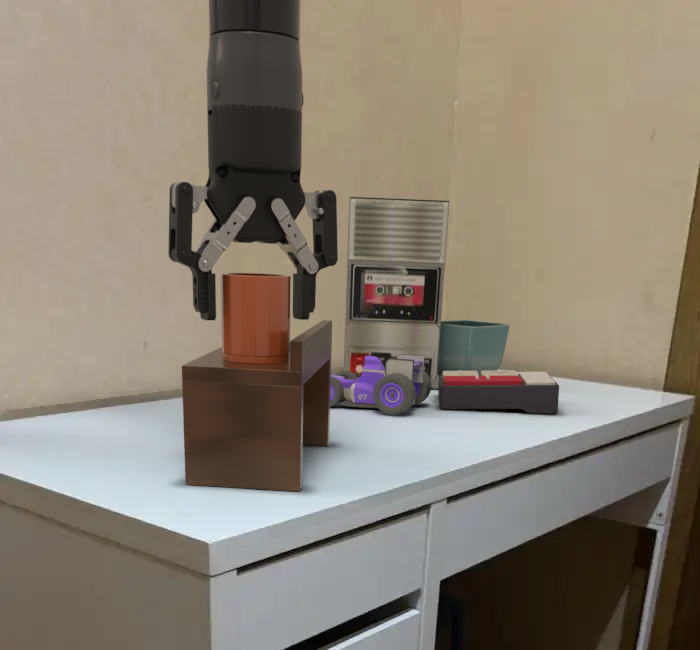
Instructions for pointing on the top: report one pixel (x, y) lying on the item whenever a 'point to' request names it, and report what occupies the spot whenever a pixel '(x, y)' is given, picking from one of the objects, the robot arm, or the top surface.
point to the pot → (255, 318)
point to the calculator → (499, 391)
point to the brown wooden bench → (257, 415)
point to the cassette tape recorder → (395, 280)
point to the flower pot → (471, 345)
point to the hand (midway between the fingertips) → (255, 319)
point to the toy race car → (383, 385)
